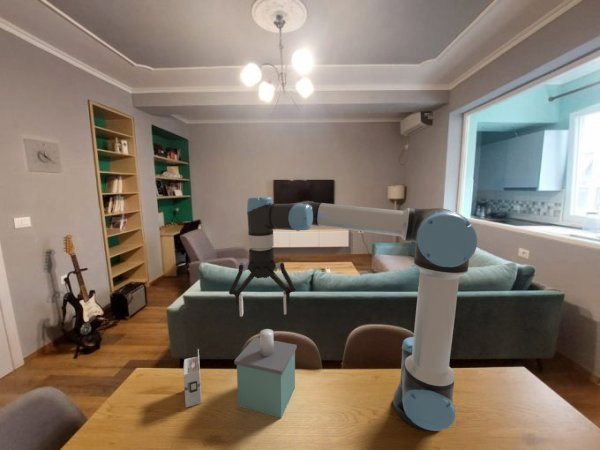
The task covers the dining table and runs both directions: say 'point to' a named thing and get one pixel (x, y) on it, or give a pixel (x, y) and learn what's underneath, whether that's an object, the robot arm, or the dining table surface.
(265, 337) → the lid
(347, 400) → the dining table surface
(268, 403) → the box
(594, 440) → the dining table surface
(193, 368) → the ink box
